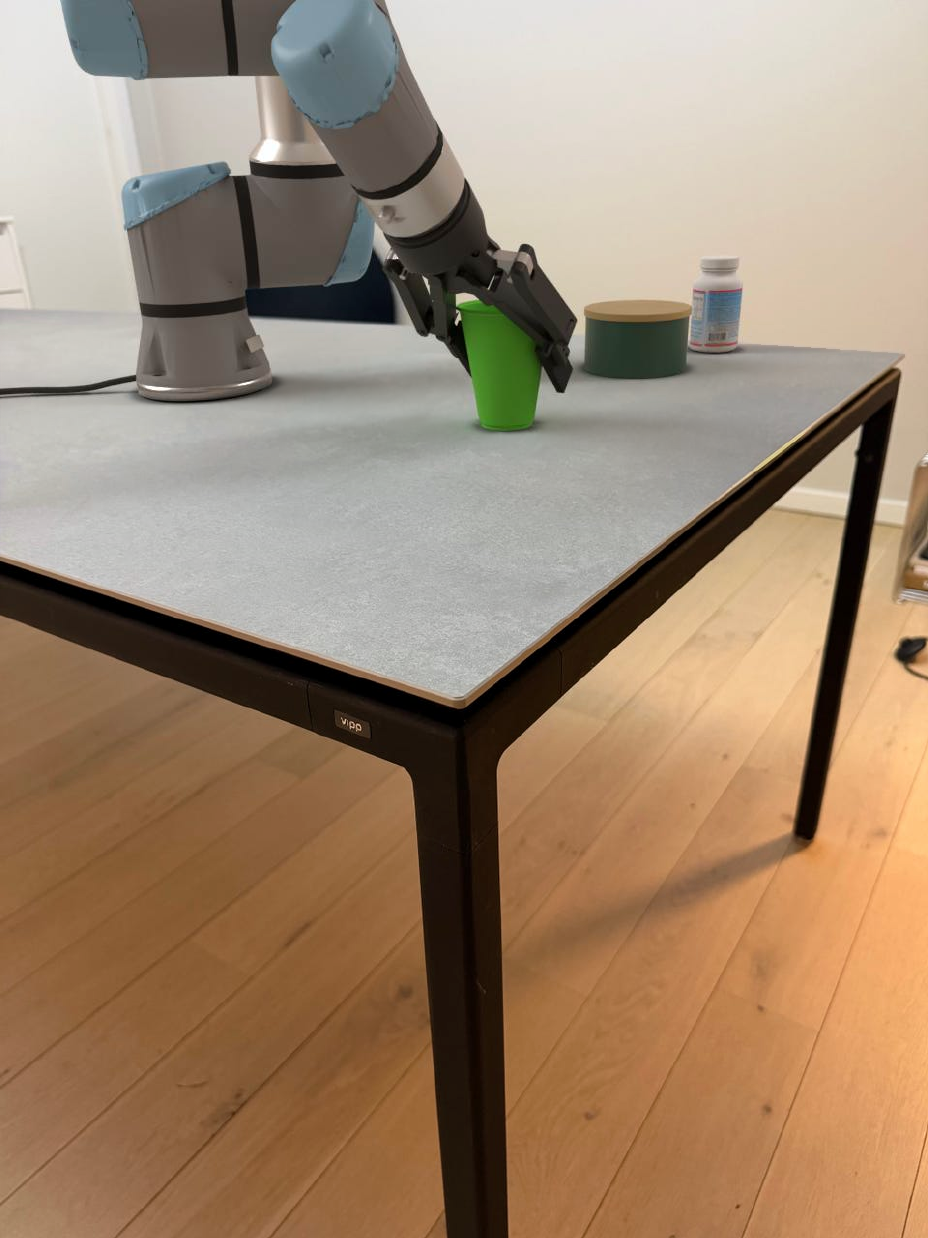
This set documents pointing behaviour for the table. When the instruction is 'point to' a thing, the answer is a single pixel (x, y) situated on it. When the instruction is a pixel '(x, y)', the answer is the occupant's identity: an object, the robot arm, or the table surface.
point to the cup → (500, 367)
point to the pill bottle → (716, 305)
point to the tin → (636, 338)
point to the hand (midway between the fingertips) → (523, 376)
